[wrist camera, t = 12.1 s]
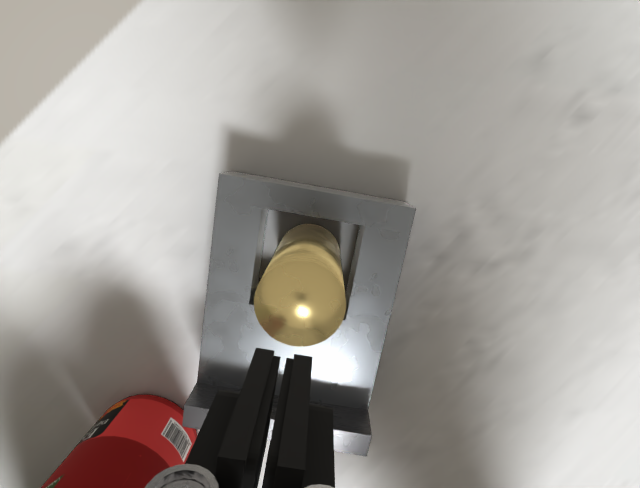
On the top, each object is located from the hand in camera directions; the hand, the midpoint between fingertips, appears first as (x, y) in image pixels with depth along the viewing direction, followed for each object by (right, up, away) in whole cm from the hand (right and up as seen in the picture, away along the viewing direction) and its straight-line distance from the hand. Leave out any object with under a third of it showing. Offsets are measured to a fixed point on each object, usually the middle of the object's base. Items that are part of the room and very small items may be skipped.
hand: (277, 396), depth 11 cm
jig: (0, +1, +16) cm, 16 cm away
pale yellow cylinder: (0, +4, +16) cm, 16 cm away
